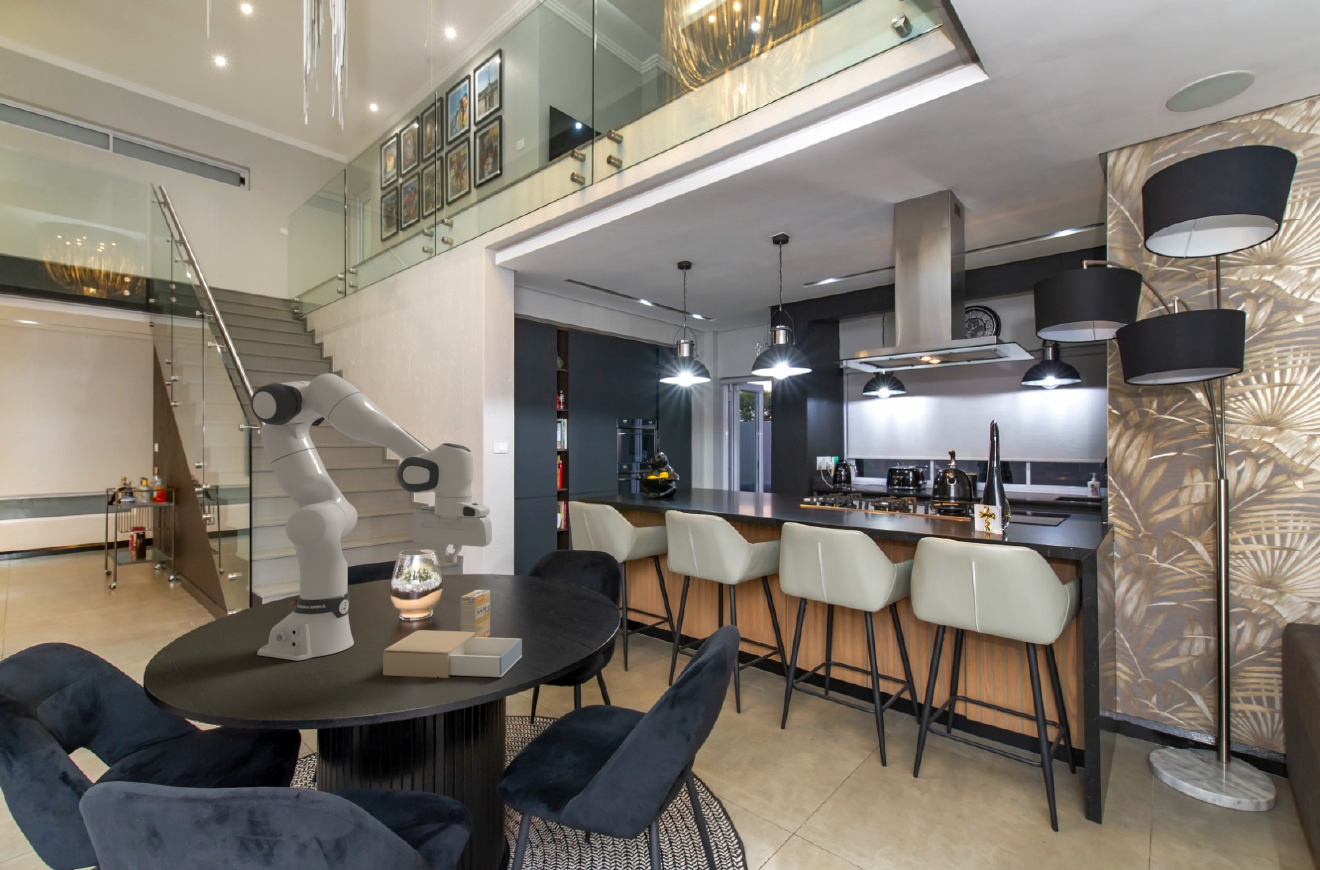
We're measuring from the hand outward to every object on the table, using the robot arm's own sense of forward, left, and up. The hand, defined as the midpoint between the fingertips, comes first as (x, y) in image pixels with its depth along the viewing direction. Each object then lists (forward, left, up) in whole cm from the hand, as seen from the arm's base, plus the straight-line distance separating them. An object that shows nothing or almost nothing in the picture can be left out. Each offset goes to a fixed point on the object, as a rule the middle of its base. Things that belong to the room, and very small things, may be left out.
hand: (449, 562), depth 145 cm
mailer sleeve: (-2, -4, -24) cm, 25 cm away
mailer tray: (+11, -4, -24) cm, 27 cm away
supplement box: (+1, +14, -25) cm, 28 cm away
